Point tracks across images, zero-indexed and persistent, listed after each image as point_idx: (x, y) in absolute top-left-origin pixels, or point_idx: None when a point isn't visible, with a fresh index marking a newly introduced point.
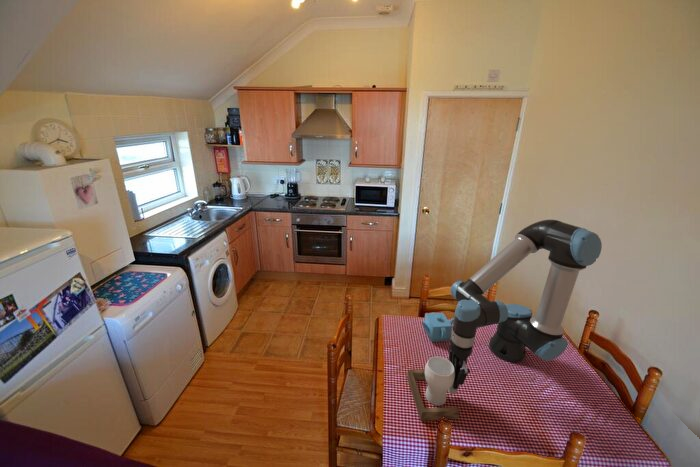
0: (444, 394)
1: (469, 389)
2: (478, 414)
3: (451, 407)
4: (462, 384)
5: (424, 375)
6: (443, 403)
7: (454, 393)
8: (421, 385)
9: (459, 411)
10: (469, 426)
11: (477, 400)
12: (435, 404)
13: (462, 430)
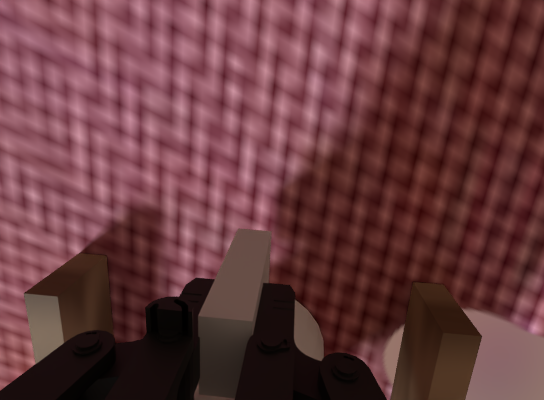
0: None
1: (207, 65)
2: (447, 117)
3: (435, 382)
4: (369, 376)
5: None
6: (318, 331)
7: (269, 251)
8: None
9: (477, 332)
10: (516, 237)
11: (322, 51)
12: None
13: (527, 295)
